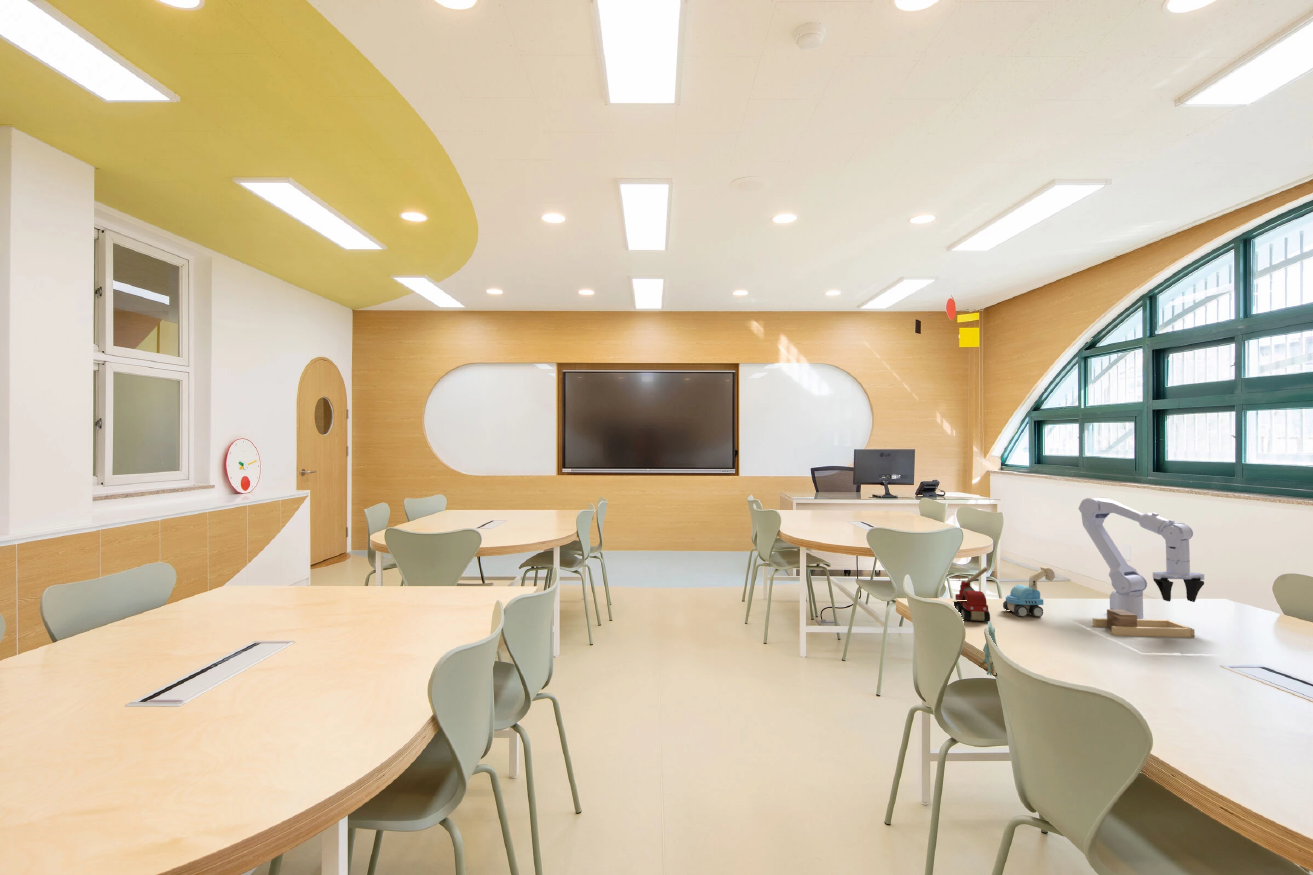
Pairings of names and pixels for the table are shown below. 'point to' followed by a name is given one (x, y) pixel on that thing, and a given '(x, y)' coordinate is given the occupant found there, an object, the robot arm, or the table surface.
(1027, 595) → the toy excavator
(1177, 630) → the bay
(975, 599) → the toy fire truck
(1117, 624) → the box
